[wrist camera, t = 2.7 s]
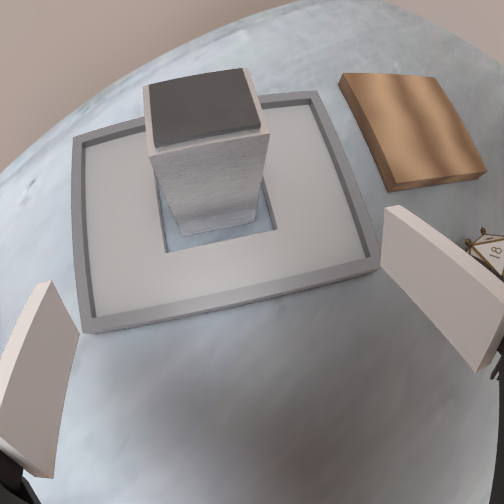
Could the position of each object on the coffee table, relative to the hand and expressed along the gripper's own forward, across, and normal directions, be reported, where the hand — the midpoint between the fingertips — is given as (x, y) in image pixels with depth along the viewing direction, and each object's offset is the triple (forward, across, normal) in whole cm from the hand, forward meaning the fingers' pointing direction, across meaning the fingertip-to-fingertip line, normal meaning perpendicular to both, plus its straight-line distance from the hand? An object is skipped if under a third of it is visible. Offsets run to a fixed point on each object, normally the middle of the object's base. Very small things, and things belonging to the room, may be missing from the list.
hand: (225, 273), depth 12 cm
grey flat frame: (+16, +1, -3) cm, 17 cm away
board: (+20, +24, 0) cm, 31 cm away
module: (+16, +1, -4) cm, 17 cm away
